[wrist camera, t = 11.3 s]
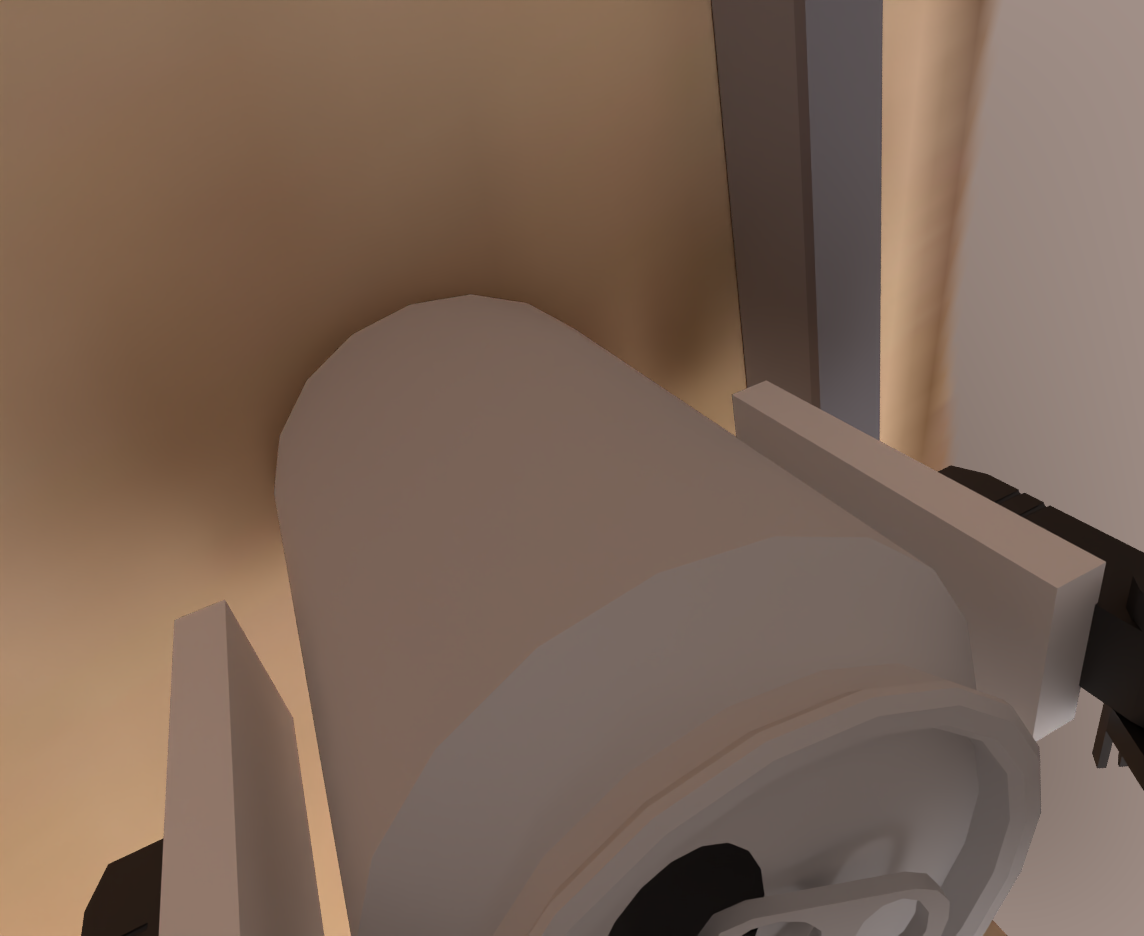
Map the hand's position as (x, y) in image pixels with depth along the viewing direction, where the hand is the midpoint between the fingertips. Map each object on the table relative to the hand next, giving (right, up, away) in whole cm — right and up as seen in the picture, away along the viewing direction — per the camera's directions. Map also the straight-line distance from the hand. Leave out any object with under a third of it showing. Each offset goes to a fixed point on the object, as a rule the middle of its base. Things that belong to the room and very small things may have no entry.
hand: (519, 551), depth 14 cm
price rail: (+6, +3, +6) cm, 9 cm away
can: (-2, +2, +3) cm, 4 cm away
